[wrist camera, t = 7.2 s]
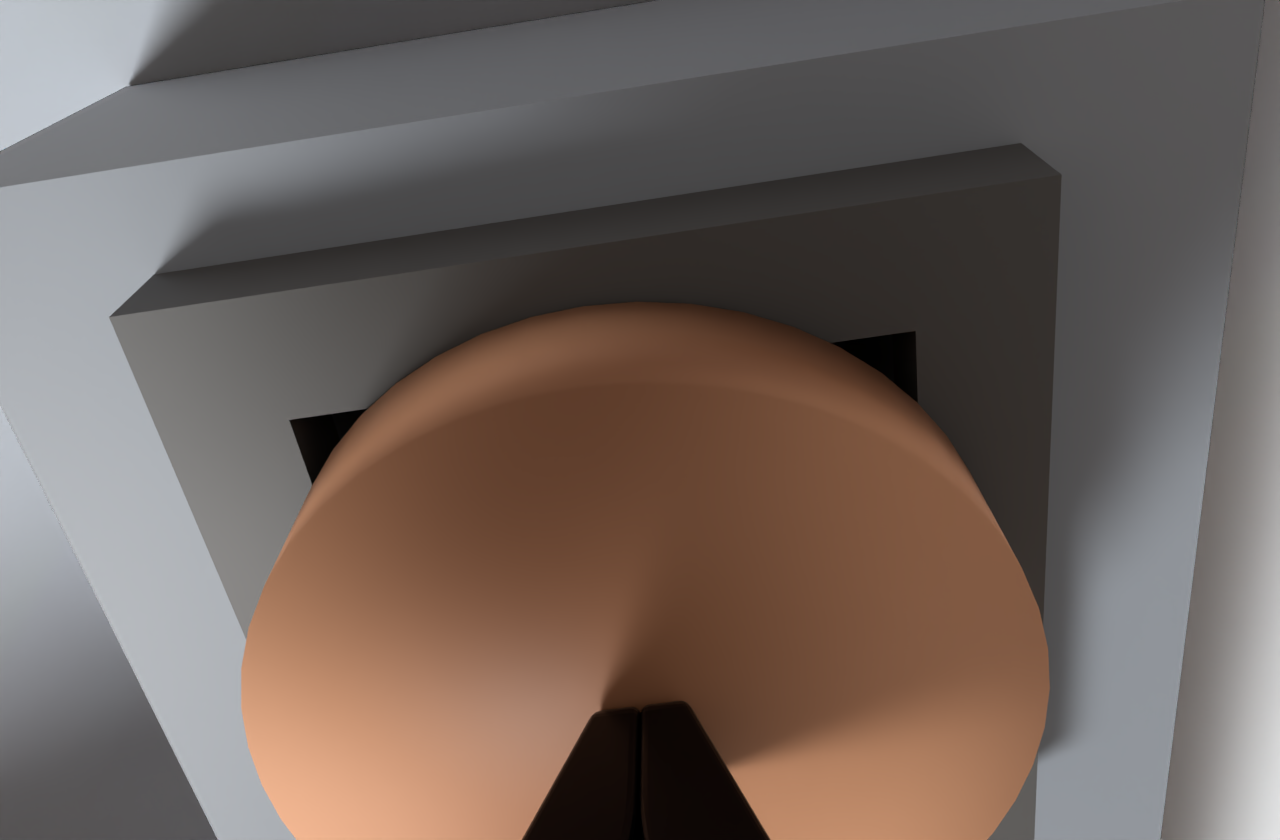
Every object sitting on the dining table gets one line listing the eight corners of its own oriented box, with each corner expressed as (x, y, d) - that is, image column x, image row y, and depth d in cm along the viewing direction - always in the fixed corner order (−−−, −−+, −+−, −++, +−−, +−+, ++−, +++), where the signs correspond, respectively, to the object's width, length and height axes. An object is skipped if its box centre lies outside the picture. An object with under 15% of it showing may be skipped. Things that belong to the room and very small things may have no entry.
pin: (874, 107, 13) (1066, 317, 8) (894, 561, 17) (1038, 945, 11) (325, 193, 14) (110, 452, 8) (453, 619, 17) (366, 1017, 11)
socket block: (1052, -64, 13) (1336, 3, 8) (1016, 1030, 24) (1125, 1361, 19) (126, 86, 14) (-174, 241, 9) (499, 1083, 25) (466, 1416, 20)
